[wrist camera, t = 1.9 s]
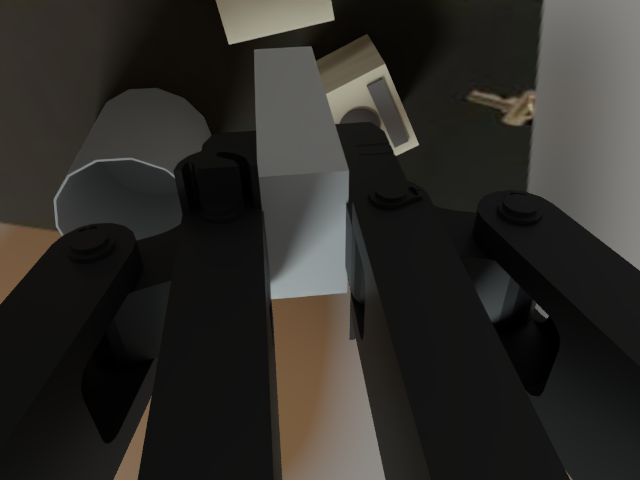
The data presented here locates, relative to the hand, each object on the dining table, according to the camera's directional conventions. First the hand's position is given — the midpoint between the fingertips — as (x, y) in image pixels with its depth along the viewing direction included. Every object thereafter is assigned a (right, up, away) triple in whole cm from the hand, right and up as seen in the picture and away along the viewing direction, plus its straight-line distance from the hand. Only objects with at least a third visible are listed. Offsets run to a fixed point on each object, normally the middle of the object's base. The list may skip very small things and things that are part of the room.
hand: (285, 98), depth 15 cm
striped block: (+3, +7, +24) cm, 25 cm away
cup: (-11, +3, +25) cm, 27 cm away
